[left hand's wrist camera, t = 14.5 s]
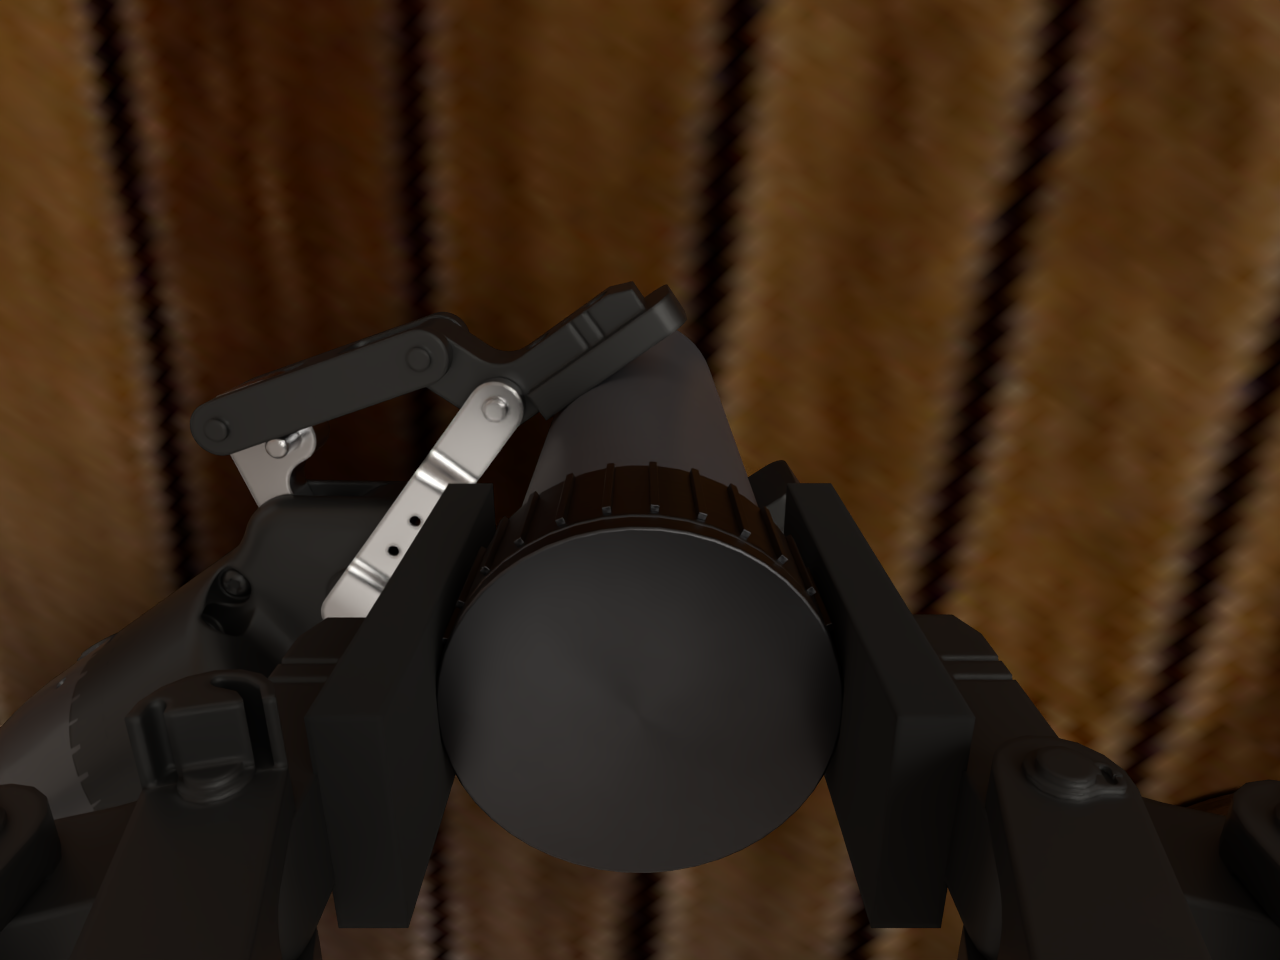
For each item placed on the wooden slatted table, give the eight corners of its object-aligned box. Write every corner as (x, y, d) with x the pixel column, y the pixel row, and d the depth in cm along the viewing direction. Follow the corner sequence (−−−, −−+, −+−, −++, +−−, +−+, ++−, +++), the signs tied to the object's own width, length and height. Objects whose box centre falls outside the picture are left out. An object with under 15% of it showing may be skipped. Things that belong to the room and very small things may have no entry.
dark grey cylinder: (657, 289, 24) (684, 460, 10) (740, 409, 26) (874, 719, 11) (537, 376, 25) (397, 651, 11) (623, 488, 27) (603, 871, 12)
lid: (443, 466, 12) (399, 531, 9) (820, 450, 11) (861, 512, 9) (483, 773, 13) (455, 884, 11) (810, 761, 13) (842, 871, 11)
